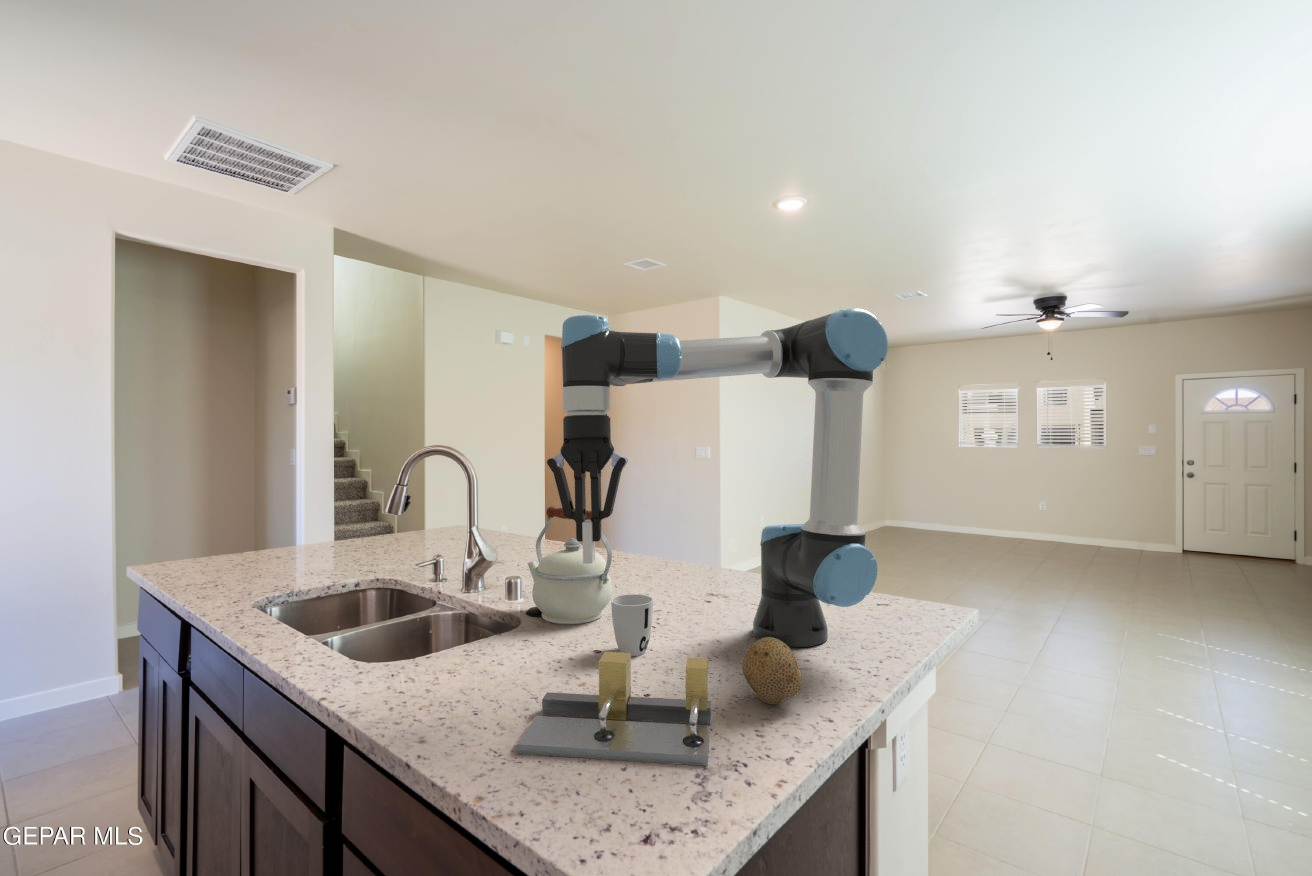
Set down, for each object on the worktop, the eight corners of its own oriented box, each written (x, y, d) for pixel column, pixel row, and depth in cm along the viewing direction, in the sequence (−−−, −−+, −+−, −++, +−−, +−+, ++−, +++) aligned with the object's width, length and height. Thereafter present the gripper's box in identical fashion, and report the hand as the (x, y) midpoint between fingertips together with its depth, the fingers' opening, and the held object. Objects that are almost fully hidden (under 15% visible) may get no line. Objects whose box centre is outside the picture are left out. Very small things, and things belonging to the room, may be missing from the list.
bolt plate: (709, 734, 84) (709, 725, 84) (707, 765, 76) (707, 755, 76) (536, 724, 87) (536, 715, 87) (516, 753, 79) (516, 743, 79)
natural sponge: (738, 688, 98) (738, 628, 98) (793, 689, 98) (793, 628, 98) (745, 714, 89) (744, 647, 89) (805, 715, 89) (805, 648, 89)
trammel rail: (711, 714, 89) (711, 658, 89) (708, 753, 79) (708, 689, 79) (548, 705, 93) (548, 651, 93) (524, 741, 82) (523, 680, 82)
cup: (648, 660, 111) (648, 606, 111) (606, 657, 113) (606, 604, 113) (657, 645, 119) (656, 595, 119) (617, 642, 121) (617, 593, 121)
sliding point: (631, 705, 91) (630, 652, 91) (616, 743, 80) (616, 682, 80) (605, 704, 92) (605, 650, 92) (587, 741, 81) (587, 681, 81)
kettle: (634, 612, 141) (633, 506, 141) (584, 634, 126) (583, 515, 125) (553, 597, 154) (553, 501, 154) (500, 615, 139) (499, 508, 139)
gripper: (630, 414, 99) (632, 556, 99) (552, 415, 100) (555, 556, 100) (623, 412, 92) (626, 567, 92) (540, 414, 93) (543, 566, 93)
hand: (589, 561), depth 96 cm, fingers closed
